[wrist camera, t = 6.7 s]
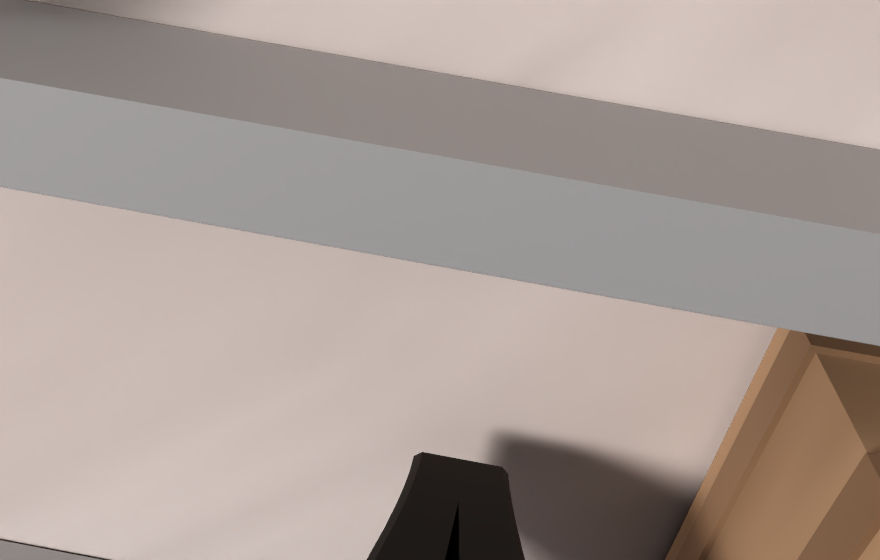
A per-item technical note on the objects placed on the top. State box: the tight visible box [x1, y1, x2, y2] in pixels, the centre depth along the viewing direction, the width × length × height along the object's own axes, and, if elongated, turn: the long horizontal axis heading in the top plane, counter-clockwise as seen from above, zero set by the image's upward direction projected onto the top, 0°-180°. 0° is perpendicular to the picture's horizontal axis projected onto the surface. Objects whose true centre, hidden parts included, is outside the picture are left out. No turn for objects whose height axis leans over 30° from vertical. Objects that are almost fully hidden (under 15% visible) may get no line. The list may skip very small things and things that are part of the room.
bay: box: [0, 0, 880, 560], centre depth 11 cm, size 23×13×4 cm, turn 82°
